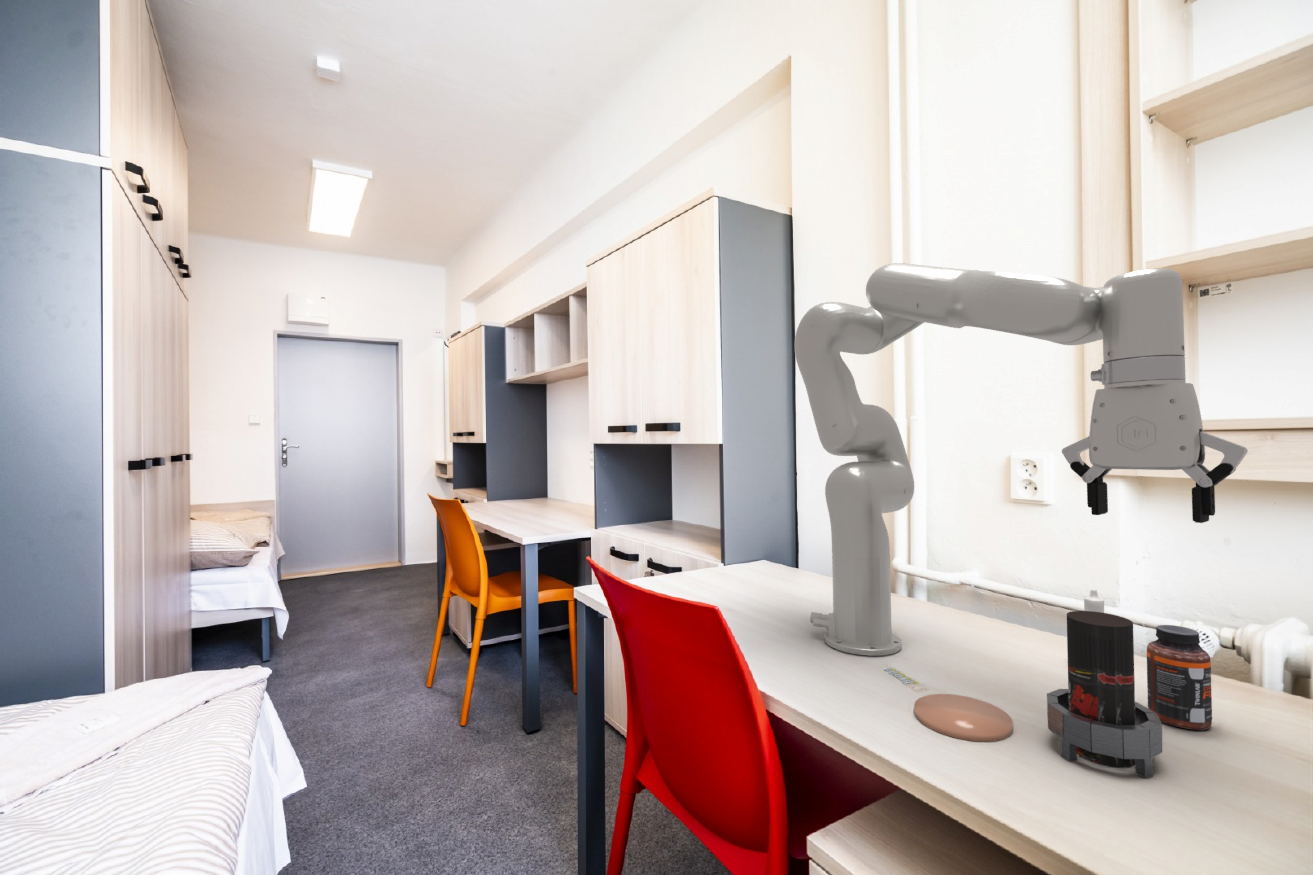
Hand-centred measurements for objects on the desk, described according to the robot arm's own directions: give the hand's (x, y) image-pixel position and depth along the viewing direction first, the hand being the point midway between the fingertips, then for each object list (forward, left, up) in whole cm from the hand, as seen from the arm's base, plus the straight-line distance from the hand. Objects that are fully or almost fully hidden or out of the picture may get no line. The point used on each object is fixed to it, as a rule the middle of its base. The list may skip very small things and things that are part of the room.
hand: (1147, 517), depth 70 cm
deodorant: (-6, -9, -26) cm, 28 cm away
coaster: (-20, -8, -26) cm, 33 cm away
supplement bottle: (+3, +5, -26) cm, 27 cm away
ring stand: (-6, -9, -26) cm, 28 cm away
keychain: (-29, +2, -26) cm, 39 cm away
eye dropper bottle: (-4, +20, -26) cm, 33 cm away
